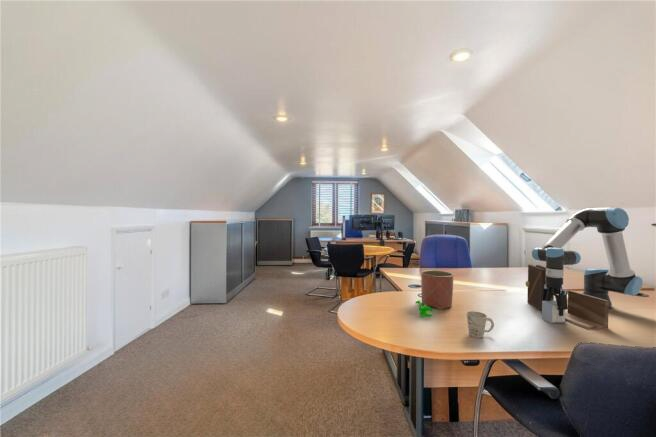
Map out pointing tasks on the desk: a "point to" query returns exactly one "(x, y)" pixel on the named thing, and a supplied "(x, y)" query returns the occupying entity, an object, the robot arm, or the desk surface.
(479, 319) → the mug
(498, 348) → the desk surface
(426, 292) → the planter
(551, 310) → the white block
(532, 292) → the book
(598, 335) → the desk surface
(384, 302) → the desk surface
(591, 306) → the wooden bookend
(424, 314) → the figurine
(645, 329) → the desk surface
